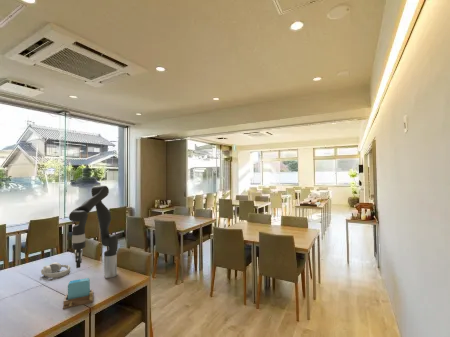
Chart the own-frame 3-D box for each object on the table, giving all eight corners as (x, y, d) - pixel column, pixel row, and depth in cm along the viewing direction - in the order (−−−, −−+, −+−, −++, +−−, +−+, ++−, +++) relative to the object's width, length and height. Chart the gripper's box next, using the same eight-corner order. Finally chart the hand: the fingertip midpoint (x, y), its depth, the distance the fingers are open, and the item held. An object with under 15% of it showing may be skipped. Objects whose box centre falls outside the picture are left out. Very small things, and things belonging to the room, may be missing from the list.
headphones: (35, 277, 191) (55, 282, 187) (36, 267, 191) (56, 272, 187) (55, 268, 209) (74, 272, 205) (56, 259, 209) (75, 264, 205)
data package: (89, 295, 161) (89, 277, 161) (89, 298, 157) (89, 280, 157) (69, 299, 156) (69, 281, 156) (67, 302, 152) (67, 283, 152)
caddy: (66, 298, 159) (66, 289, 159) (93, 292, 166) (93, 284, 166) (62, 309, 147) (62, 299, 147) (92, 302, 154) (92, 293, 154)
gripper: (84, 242, 152) (84, 268, 152) (86, 237, 165) (86, 260, 165) (70, 244, 149) (70, 270, 149) (73, 239, 161) (73, 262, 161)
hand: (79, 265), depth 157 cm, fingers open, 8 cm apart
